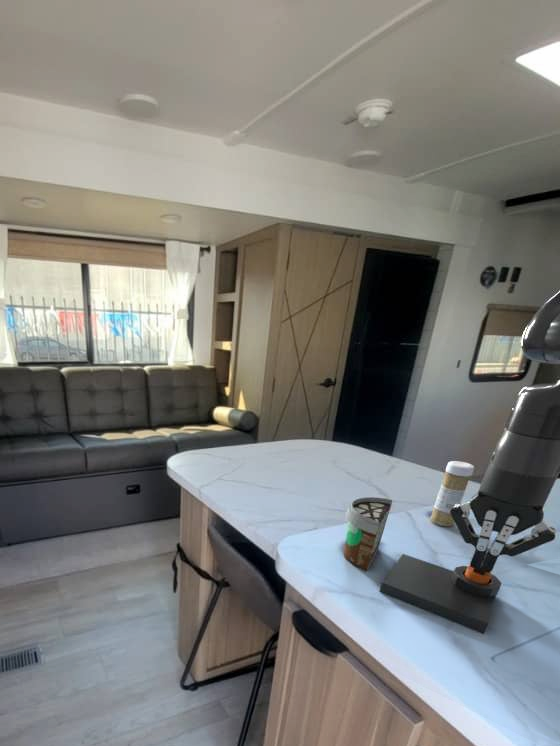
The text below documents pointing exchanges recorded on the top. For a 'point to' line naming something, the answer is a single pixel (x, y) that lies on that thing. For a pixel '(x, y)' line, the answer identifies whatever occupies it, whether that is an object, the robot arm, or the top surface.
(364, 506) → the food container
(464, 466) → the sprinkles bottle
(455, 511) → the robot arm
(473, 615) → the scale
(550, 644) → the top surface
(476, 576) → the button
